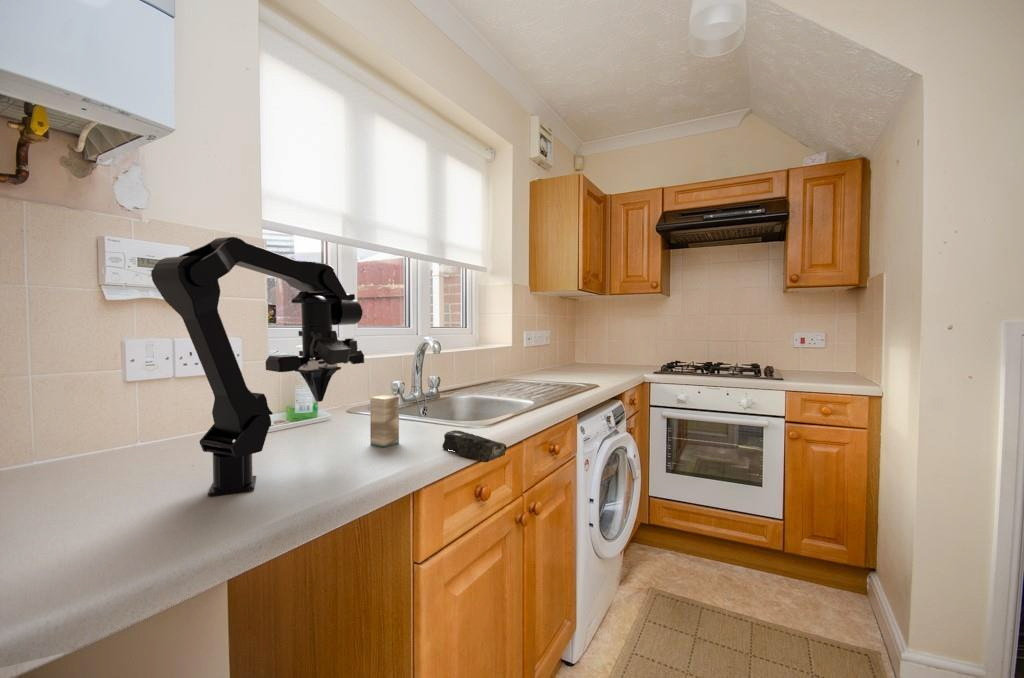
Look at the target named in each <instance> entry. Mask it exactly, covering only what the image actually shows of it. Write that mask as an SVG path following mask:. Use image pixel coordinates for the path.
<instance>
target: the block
mask: <svg viewBox="0 0 1024 678" xmlns="http://www.w3.org/2000/svg"><path fill="white" fill-rule="evenodd" d="M369 401H370V405H369V406H370V410H369V411H370V412H369V413H370V416H369V417H370V422H369V423H370V425H369V426H370V428H369V430H370V431H369V432H370V433H369V434H370V436H369V437H370V445H371V446H375V447H378V448H379V447H380V448H383V449H385V448H388V447H391V446H394V445H398V444H399V443H400V397H399V396H398V395H392V394H391V395H390V394H382V395H375V396H371V397H370V400H369Z"/></svg>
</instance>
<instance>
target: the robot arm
mask: <svg viewBox="0 0 1024 678" xmlns="http://www.w3.org/2000/svg"><path fill="white" fill-rule="evenodd" d="M235 266H237V267H240V268H244V269H247V270H251V271H255V272H257V273H261V274H264V275H267V276H271V277H274V278H277V279H280V280H282V281H285V282H286V283H288V285H289V286H290V287H291V288H294V289H295V290H298V291H299V293H297V295H296V296H294V297H293V298H292V299H291V303H292V304H301V307H300V308H301V330H298V337H301V341H302V342H301V343H302V350H299V351H298V355H295V354H276V355H275V354H274V355H268V357H267V359H266V360H265V371H269V372H270V371H271V372H275V373H289V372H298V373H299V374H300V375H301V376H302V378H303V380H304V381H305V383H306V384H307V386H308V388H309V390H310V392H311V393H312V396H313V398H314V400H315V401H316V402H317V403H320V402H323V401H324V398H325V396H326V395H325V394H326V392H327V389H328V386H329V383H330V382H331V378H332V377H333V375H334V374H336V372H337V371H340V370H342V367H341V366H338V364H345V365H346V364H348V363H351V364H352V365H357V364H358V365H359V364H364V363H365V354H364V353H363V351H362V350H361V349H360V350H359V349H358V341H357V339H355V338H353V337H352V338H344V339H343V340H339V339H338V334H337V331H336V330H333V326H345V325H356V324H358V323H359V322H360V321H361V319H362V318H363V308H362V306H361V303H359V301H358V300H357V299H356V295H355V294H354V293H347V292H346V290H345V289H344V287H343V285H342V283H341V281H340V280H339V278H338V275H337V274H336V272H335V271H334V270H335V269H334V267H333V266H332V265H330V264H328V263H324V262H316V261H305V260H304V261H302V260H298V259H297V260H296V259H294V258H290V257H289V256H286V255H283V254H280V253H277V252H275V251H272V250H269V249H266V248H264V247H261V246H258V245H255V244H252V243H250V242H247V241H245V240H243V239H242V238H239V237H237V236H230V237H229V236H228V237H218V238H215V239H213V240H211V241H210V242H208V243H206V244H205V245H203V246H200V247H198V248H195V249H193V250H190V251H188V252H185V253H183V254H180V255H179V256H172V257H164V258H162V259H160V260H158V261H157V262H155V264H154V267H153V269H151V271H150V274H151V280H152V282H153V285H154V286H155V287H156V290H158V292H159V294H160V296H161V297H162V298H163V300H164V301H165V302H166V304H168V305H169V306H170V307H171V308H172V309H173V310H174V311H175V312H176V313H177V314H178V315H179V316H180V317H181V319H182V320H183V323H184V326H185V327H186V328H185V329H186V331H187V332H188V335H189V338H190V340H191V343H192V345H193V347H194V350H195V352H196V355H197V357H198V359H199V362H200V365H201V367H202V369H203V371H204V373H205V377H206V378H207V381H208V384H209V386H210V389H211V391H212V394H213V396H214V399H213V400H214V401H213V406H212V411H211V415H212V420H213V424H212V426H211V427H210V428H209V429H208V430H207V432H205V434H204V435H203V436H202V437H201V439H200V440H199V445H200V448H201V450H202V451H203V453H212V484H211V485H210V488H209V490H208V492H207V496H209V497H213V496H219V495H227V494H233V493H234V494H235V493H240V492H241V493H242V492H250V491H254V490H255V487H256V482H257V475H253V455H254V454H256V453H260V452H263V449H264V446H265V443H266V442H265V441H266V439H267V435H268V432H269V430H270V427H272V419H271V416H272V415H273V411H271V410H270V408H269V406H268V399H267V397H266V395H265V393H260V392H252V391H251V390H249V388H248V386H247V384H246V382H245V379H244V377H243V373H242V370H241V368H240V365H239V363H238V360H237V357H236V356H235V351H234V350H233V348H232V344H231V342H230V339H229V336H228V334H227V331H226V329H225V326H224V323H223V321H222V318H221V315H220V313H219V302H220V296H221V286H220V283H219V282H220V281H219V279H221V278H222V277H224V276H225V275H227V274H229V273H230V272H231V270H232V269H233V268H234V267H235ZM270 415H271V416H270Z"/></svg>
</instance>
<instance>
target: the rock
mask: <svg viewBox="0 0 1024 678" xmlns="http://www.w3.org/2000/svg"><path fill="white" fill-rule="evenodd" d="M443 437H444V440H443V443H442V449H444V448H445V450H446V449H449V450H453V451H455V452H456V453H455V454H458V456H460V457H462V458H465V459H468V460H474V461H476V462H477V461H478V462H482V463H489V462H491V461H494V460H496V459H499V458H501V457H505V456H506V451H507V449H508V448H507V445H506V444H505V443H503V442H498V441H495V440H492V439H489V438H485V437H483V436H480V435H475V434H473V433H469V432H465V431H461V430H450V431H447V432H445V433H444V435H443Z"/></svg>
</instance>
